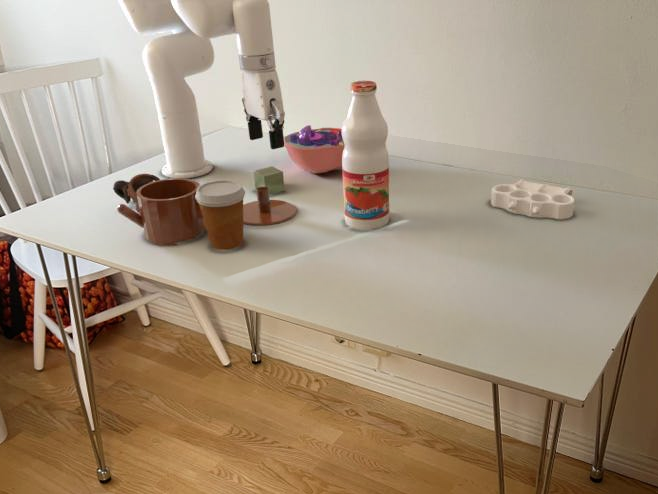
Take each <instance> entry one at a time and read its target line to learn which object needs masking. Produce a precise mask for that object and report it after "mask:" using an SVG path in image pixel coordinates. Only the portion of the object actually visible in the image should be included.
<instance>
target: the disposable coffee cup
mask: <svg viewBox="0 0 658 494" xmlns="http://www.w3.org/2000/svg"><path fill="white" fill-rule="evenodd" d="M245 195H246V190H245V189H244V187H243V186H242V183H240V182H239V181H236V180H230V179H218V180H212V181H207V182H205V183H202V184H200V186H199V187H198V188H197V192H196V195H195V198H196V200H197V202H198V203H199V205H200V209H201V212H202V216H203V219H204V222H205V226H206V232H207V236H208V239H209V242H210V245H211V247H212V248H213V249H216V250H220V251H228V250H233V249H236V248H239V247H241V246H242V245H243V244H244V224H243V205H244V198H245Z"/></svg>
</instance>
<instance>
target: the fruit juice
mask: <svg viewBox="0 0 658 494" xmlns="http://www.w3.org/2000/svg"><path fill="white" fill-rule="evenodd" d="M377 90H378V89H377V82H375V81H372V80H356V81H353V82H351V84H350V93H351V94H352V95H351V96H352V97H351V100H350V104H349V107H348V111H347V113H346V116H345V119H344V120H343V122H342V125H341V129H342V138H343V141H344V146H345V147H344V150H343V154H342V171H341V172H342V190H343V212H344V213H343V214H344V215H343V216H344V223H345V224H346V225H348V226H349V227H351V228H355V229H360V230H361V229H362V230H368V229H369V230H371V231H373V230H378V229H382V228H383V227H385V226H386V225H387V224H388V223H389V220H390V159H389V150H388V147H387V146H386V145H387V139H388V135H389V128H388V123H387V121H386V119H385V118H384V116H383V113H382V111H381V108H380V105H379V103H378V99H377V96H376V93H377Z"/></svg>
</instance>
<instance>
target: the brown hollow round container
mask: <svg viewBox="0 0 658 494" xmlns="http://www.w3.org/2000/svg"><path fill="white" fill-rule="evenodd" d="M200 185H201V184H200V183H199V182H198V181H196V180H194V179H191V178H170V177H169V178H163V179H160V180H158V181H153V182H150V183H148V184H145V185H143V186H142V187H140V188H139V189H138V190H137V191H136V194H137V199H138V204H139V208H140V212H139V214H140V215H141V218H142V222H143V227H144V228H143V231H144V236H145V239H146V240H147V242H149V243H151V244H154V245H158V246H177V245H178V243H182V242H186V241H190V240H193V239H197V238H199V237H200V236H202V235H203V234H204V233H205V232H207V229H206V226H205V222H204V219H203V216H202V212H201V209H200V205H199V203H198V202H197V200H196V198H195V195H196V192H197V188H198V187H199V186H200Z"/></svg>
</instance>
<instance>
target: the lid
mask: <svg viewBox="0 0 658 494" xmlns="http://www.w3.org/2000/svg"><path fill="white" fill-rule="evenodd" d="M255 191H256V199H257V200H254V201H250V202H247V203H243V225H247V226H261V227H263V226H270V225H271V226H272V225H276V224H280V223H284V222H286V221H288V220H290V219H293V217H295V215H296V213H297V209H296V206H295V205H294V204H293V203H290V202H288V201H285V200H281V199H270V194H269V188H268V187H259V188H257V189H256V188H255Z"/></svg>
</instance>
